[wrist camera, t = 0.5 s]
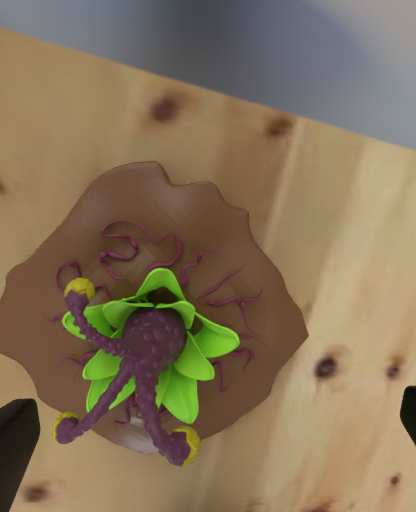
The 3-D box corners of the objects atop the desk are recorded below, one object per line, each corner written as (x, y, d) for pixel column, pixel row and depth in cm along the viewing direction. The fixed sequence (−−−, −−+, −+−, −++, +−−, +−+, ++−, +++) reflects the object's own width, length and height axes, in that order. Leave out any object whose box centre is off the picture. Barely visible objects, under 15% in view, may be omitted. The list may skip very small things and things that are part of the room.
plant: (161, 465, 25) (140, 678, 14) (-29, 318, 21) (-267, 453, 10) (336, 313, 23) (472, 421, 12) (162, 121, 19) (125, 20, 8)
